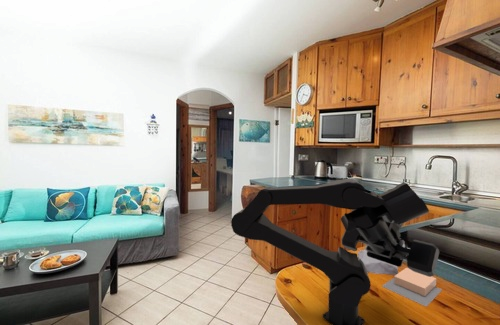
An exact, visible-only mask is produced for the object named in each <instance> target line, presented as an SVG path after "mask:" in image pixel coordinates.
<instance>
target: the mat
mask: <svg viewBox="0 0 500 325" xmlns="http://www.w3.org/2000/svg"><path fill="white" fill-rule="evenodd" d="M381 287H383V288H384V289H387V290H389V291H391V292H393V293H396V294H397V295H400V296H402V297H404V298H406V299H408V300H411V301H413V302H415V303H418V304H420V305H422V306H424V307H428V306H429V305H430V303H432V302H433V300H435V298H436V297H437V296H439V294H440V293H441V292H442V291H443V289H442V288H440V287H436V286H435V287H434V288H433V289H432V290H431V291H430V292H429V293H428V294H427V295H426V296H422V295H420V294H417V293H415V292H413V291H410V290H408V289H406V288H403V287H401V286H399V285H396V284H395V283H394V277H393V278H391V279H390V280H388V281H386V282H385V284H382V286H381Z"/></svg>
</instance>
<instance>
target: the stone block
mask: <svg viewBox="0 0 500 325" xmlns="http://www.w3.org/2000/svg"><path fill="white" fill-rule="evenodd" d="M367 252H368V251H366V250H365V249H361V250H359V251H357V257H358V258H359V259H361V260H362V261H363V263H364V265H365V267H366V270H367V273H371V274H376V275H377V274H378V275H391V276H395V275H397V274H398V273H399V267H397V266H394V265H392V264H389V263H386V262H383V261H380V260H377V259H374V258H371V257H368V256H367Z"/></svg>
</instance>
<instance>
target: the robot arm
mask: <svg viewBox="0 0 500 325" xmlns="http://www.w3.org/2000/svg"><path fill="white" fill-rule="evenodd" d="M271 205H272V206H274V205H275V206H277V205H281V206H282V205H283V206H285V205H325V206H329V207H334V208H337V209H339V208H340V209H343V210H344V209H345V210H351V211H350V212H347V213H344V215H342V216H341V218H340V221H341V223H342V226H343V227H344V233H343V235H342V237H341V242H340V243H341V245H342V246H343V247H342V246H338V249H337V251H336V250H334V251H333V250H328V249H326V248H324V247H321V246H319V245H317V244H315V243H314V242H311V241H309V240H308V239H305V238H303V237H301V236H299V235H297V234H295V233H293V232H292V231H289V230H287V229H285V228H282V227H281V226H279V225H277V224H274V222H272V221H271V219H269V218H268V217H267V216H266V215H265V214H264V213H265V211H267V209H268V208H270V206H271ZM429 213H430V209H429V208H428V205H427V204H426V203H425V201H424V199H423V198H421V197H419V195H418V194H417V193H416V191H414V190H413V189H412V188H411V186H410V185H409V184H408V183H406V182H401V183H398V184H397V185H396V186H395V187H393V188H391V189H389V190H387V191H385V192H382V193H380V194H378V193H376V192H375V191H374V190H369V189H367V188H365V186H364V185H363V184H362V183H360V182H359V181H358V180H356V179H354V178H343V179H339V180H338V179H337V180H334V181H331V182H326V183H323V184H319V185H303V186H301V185H300V186H281V187H280V186H279V187H277V186H276V187H271V186H266V187H263V188H262V189H260V190H259V191H258V193H257V194H256V196H254V198H253V199H252V200H251V201H250V202H248V204H247V206H246V207H244V208H242V209H241V210H239V211H238V212H237V213H235V214H233V216H232V217H231V221H230V226H231V229H232V232H233V233H234V234H235V235H237V236H239V237H242V238H244V239H248V240H251V241H262V242H265V243H267V244H269V245H270V246H272V247H273V246H274V247H275V248H277V249H279V250H281V251H283V252H285V253H286V254H288V255H290V256H292V257H294V258H296V259H298V260H300V261H302V262H304V263H306V264H307V265H310V266H312V267H313V268H316V269H317V270H319V271H321V272H322V273H323V274H324V275H325V276H326V277H327V278H328V282H329V287H328V288H329V293H328V295H327V296H328V311H326V312H324V313H323V314H322V318H323V319H324V320H325V321H326V322H328V323H329V324H331V325H364V324H365V323H366V319H365V318H364V317H361V316H360V315H359V303H360V302H361V300H362V298H363V296H365V295H367V294H368V293H369V291H370V290H371V287H372V286H371V279H370V277H369V274H368V273H369V272H367V270H366V267H365V265H364V263H363V261H362V260H361V259H359V256H358V253H355V252H358V251H357V250H358V247H357V245H358V243H362V244H365V247H364V250H366V251H368V252H367V256H368V257H371V258H374V259H377V260H380V261H383V262H386V263H389V264H392V265H394V266H397V267H398V268H401V267H402V266H403V263H404V261H406V267H407V268H409V269H411V270H412V271H414V272H417V273H420V274H423V275H426V276H429V277H431V276H432V277H434V276H435V272H436V267H437V264H438V260H439V255H440V249H439V247H437V246H436V244H435V243H432V242H427V241H423V240H419V239H413V240H411V241H412V242H411V246H410V248H408V243H407V242H406V241H405V240H404V239H401V233H400V230H401V228H402V226H404V224H406V223H408V222H410V221H412V220H414V219H417V218H420V217H422V216H425V215H426V214H429ZM348 250H349V251H348Z"/></svg>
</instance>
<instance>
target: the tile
mask: <svg viewBox="0 0 500 325" xmlns="http://www.w3.org/2000/svg"><path fill="white" fill-rule="evenodd" d="M393 278H394V283H395V284H396V285H399V286H401V287H403V288H406V289H408V290H410V291H413V292H415V293H417V294H420V295H422V296H426V295H427V294H428V293H429V292H430V291H431V290H432V289H433V288H434V287H436V286H437V278H436V277H434V276H431V277H429V276H426V275H423V274H420V273H417V272H414V271H412V270H411V269H409V268H408V267H405V268H404V269H402V270H401V271H399V272H398V274H397V275H393Z"/></svg>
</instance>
